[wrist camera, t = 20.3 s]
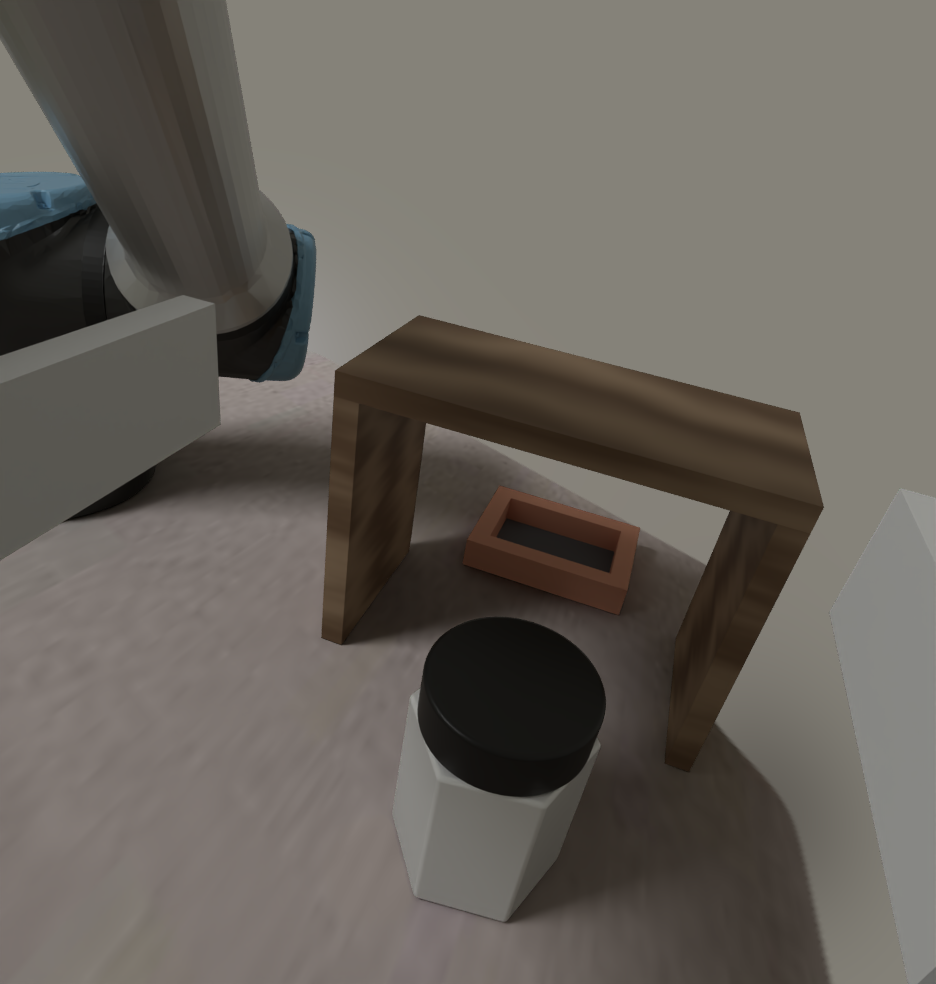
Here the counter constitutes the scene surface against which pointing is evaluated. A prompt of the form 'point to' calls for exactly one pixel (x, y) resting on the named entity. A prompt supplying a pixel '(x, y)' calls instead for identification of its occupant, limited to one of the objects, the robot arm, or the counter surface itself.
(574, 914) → the counter surface
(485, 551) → the tray
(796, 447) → the archway
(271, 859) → the counter surface
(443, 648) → the jar
